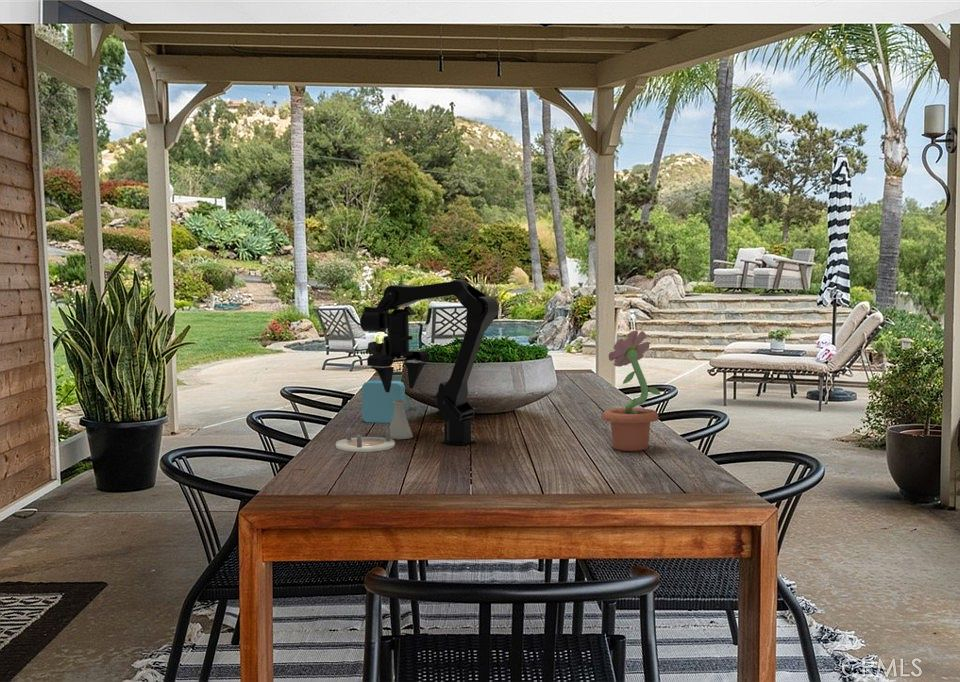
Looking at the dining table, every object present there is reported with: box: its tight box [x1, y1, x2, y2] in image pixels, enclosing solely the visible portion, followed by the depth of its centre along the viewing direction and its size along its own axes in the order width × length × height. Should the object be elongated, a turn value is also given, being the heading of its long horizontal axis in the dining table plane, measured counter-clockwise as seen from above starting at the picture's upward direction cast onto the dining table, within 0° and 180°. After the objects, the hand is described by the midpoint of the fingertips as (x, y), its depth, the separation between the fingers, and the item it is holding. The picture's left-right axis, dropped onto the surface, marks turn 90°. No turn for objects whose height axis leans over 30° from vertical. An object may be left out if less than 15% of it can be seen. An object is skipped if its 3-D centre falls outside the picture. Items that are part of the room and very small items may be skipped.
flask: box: [388, 400, 414, 440], centre depth 245 cm, size 7×7×10 cm
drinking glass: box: [378, 370, 411, 412], centre depth 291 cm, size 10×10×12 cm
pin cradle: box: [335, 427, 396, 453], centre depth 233 cm, size 15×15×4 cm
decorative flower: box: [602, 330, 661, 452], centre depth 228 cm, size 15×14×30 cm
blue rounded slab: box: [361, 379, 405, 424], centre depth 270 cm, size 12×4×12 cm, turn 79°
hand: (399, 390), depth 244 cm, fingers open, 9 cm apart
